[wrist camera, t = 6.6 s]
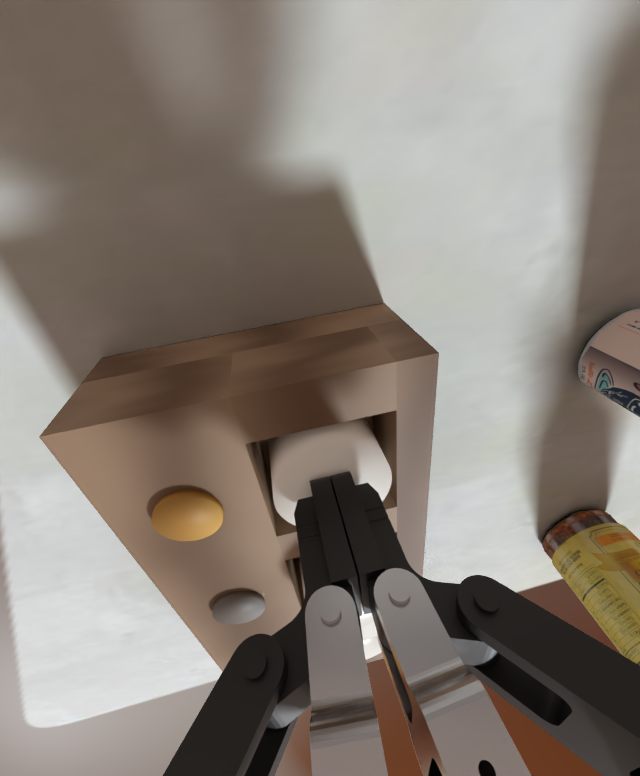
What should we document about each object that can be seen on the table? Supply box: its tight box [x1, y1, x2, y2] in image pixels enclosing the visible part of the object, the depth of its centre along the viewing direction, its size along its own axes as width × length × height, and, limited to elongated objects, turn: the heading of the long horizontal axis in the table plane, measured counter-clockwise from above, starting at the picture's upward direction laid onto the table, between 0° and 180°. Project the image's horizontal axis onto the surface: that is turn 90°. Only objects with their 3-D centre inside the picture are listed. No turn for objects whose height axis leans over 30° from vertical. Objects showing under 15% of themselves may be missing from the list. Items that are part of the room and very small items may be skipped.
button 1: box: [268, 417, 392, 526], centre depth 13 cm, size 4×4×3 cm
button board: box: [40, 303, 439, 671], centre depth 18 cm, size 12×23×5 cm, turn 7°
